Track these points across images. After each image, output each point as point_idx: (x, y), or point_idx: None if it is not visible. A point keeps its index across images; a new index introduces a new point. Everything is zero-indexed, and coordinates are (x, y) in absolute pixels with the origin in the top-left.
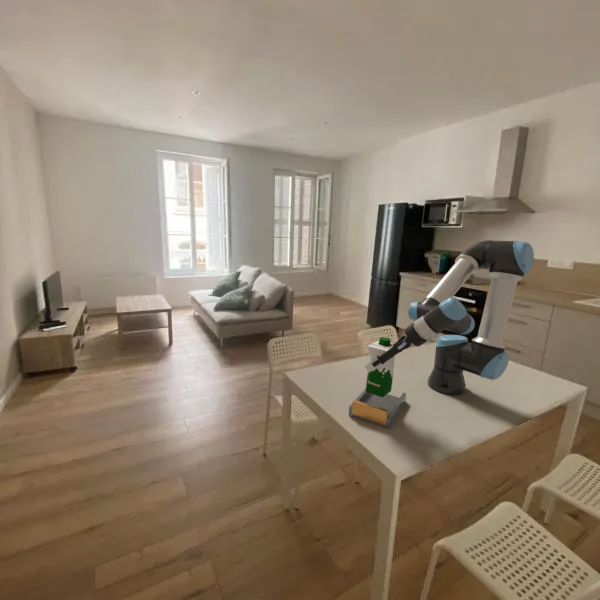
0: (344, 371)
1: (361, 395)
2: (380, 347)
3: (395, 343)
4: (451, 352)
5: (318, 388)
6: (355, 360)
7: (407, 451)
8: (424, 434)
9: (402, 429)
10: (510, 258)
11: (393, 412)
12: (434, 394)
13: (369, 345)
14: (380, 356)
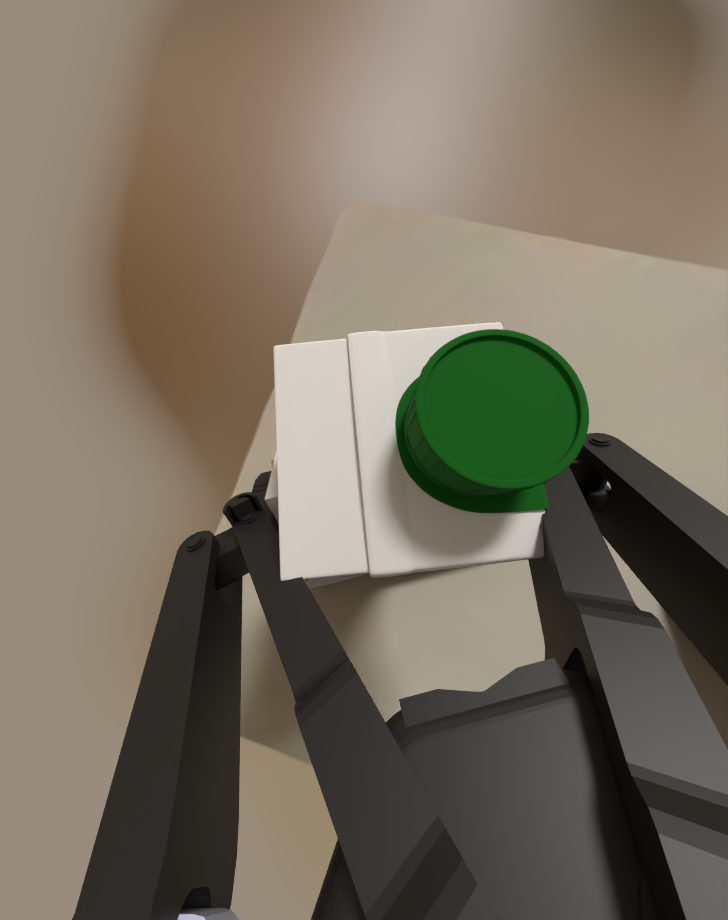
0: (500, 289)
1: None
2: (334, 458)
3: (314, 769)
4: None
5: (345, 313)
6: (605, 257)
7: (251, 679)
8: (363, 678)
9: (337, 613)
10: None
11: (350, 576)
12: (631, 585)
13: (299, 347)
14: (180, 565)
